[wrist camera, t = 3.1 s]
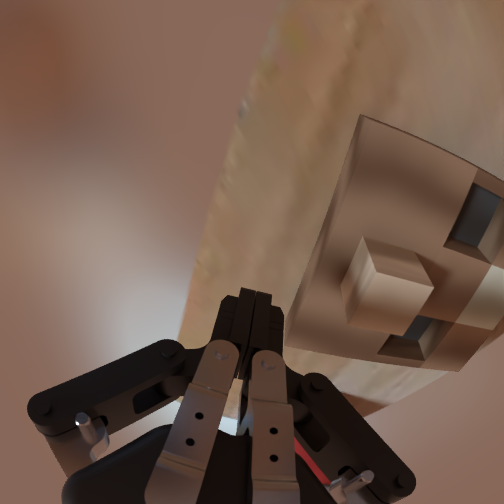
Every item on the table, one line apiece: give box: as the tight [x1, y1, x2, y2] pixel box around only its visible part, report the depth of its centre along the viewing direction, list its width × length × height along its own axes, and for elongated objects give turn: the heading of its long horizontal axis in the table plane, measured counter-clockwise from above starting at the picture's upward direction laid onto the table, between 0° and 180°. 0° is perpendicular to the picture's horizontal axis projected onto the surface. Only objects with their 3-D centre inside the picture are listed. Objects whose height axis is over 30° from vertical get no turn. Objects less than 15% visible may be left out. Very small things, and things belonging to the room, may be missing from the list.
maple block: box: [340, 236, 434, 336], centre depth 19 cm, size 4×4×4 cm
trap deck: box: [284, 114, 504, 372], centre depth 22 cm, size 18×19×3 cm
